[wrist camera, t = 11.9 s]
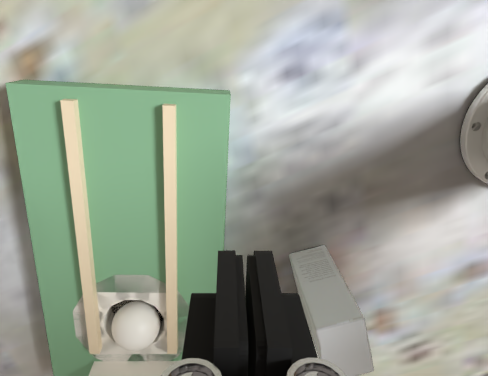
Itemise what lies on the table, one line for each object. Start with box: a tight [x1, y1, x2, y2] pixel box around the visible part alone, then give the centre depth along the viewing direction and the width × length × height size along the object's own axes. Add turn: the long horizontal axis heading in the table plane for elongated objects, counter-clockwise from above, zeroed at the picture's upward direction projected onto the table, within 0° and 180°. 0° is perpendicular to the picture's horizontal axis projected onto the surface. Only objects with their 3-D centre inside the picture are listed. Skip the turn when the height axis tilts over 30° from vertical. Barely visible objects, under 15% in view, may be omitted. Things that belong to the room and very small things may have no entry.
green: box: [6, 80, 230, 376], centre depth 36 cm, size 18×32×6 cm, turn 177°
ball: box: [111, 301, 160, 351], centre depth 40 cm, size 5×5×5 cm
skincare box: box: [289, 245, 374, 376], centre depth 36 cm, size 6×4×12 cm
